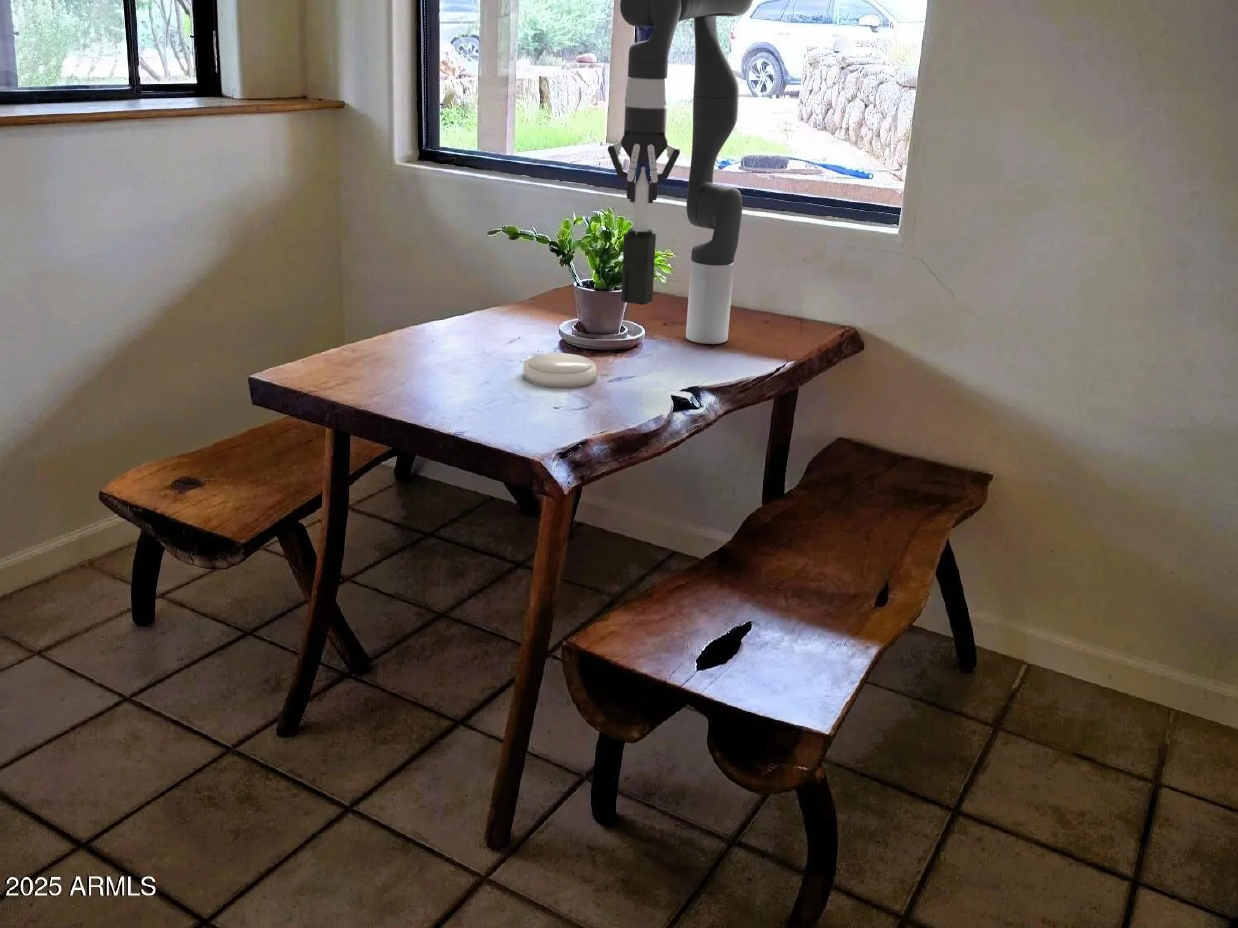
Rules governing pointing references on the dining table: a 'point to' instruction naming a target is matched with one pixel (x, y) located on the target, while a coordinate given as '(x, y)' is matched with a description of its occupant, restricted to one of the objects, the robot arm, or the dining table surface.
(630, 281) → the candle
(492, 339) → the dining table surface
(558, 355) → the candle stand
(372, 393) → the dining table surface
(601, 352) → the dining table surface
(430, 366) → the dining table surface
